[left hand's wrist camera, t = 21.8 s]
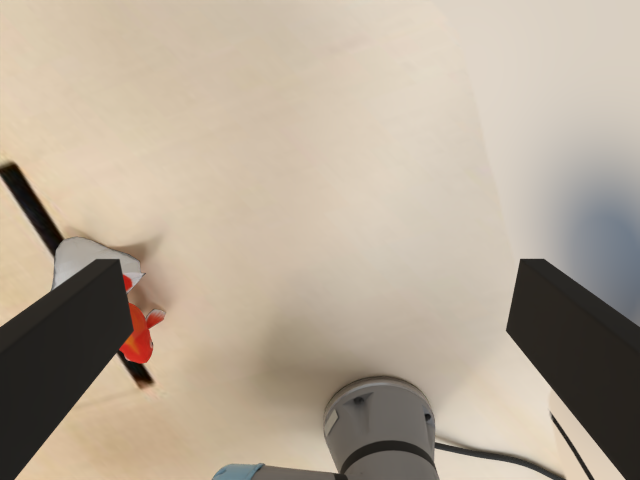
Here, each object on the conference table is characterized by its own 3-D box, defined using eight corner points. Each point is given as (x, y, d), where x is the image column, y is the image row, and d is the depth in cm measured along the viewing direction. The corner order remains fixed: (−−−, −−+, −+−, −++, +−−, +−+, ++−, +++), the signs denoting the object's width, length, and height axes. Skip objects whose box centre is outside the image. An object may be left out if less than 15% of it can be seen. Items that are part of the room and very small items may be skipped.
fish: (81, 376, 45) (41, 397, 35) (58, 249, 47) (14, 236, 37) (175, 350, 48) (161, 363, 38) (150, 232, 49) (132, 215, 40)
